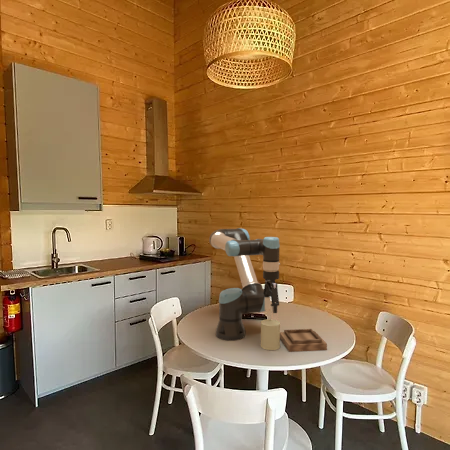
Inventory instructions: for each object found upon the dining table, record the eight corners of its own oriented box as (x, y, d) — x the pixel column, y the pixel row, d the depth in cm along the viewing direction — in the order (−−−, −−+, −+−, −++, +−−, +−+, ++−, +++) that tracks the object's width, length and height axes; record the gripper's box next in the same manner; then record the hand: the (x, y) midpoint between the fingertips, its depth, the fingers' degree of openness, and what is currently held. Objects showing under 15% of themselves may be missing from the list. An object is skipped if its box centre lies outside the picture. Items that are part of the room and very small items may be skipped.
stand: (288, 351, 158) (289, 342, 158) (279, 338, 174) (279, 329, 173) (326, 349, 160) (327, 340, 160) (314, 336, 176) (314, 327, 175)
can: (278, 342, 169) (278, 318, 168) (281, 350, 160) (282, 324, 159) (259, 342, 169) (259, 318, 168) (261, 350, 159) (262, 325, 159)
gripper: (286, 275, 150) (286, 323, 151) (272, 265, 174) (272, 306, 176) (269, 275, 149) (269, 324, 150) (257, 265, 173) (257, 307, 175)
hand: (270, 314), depth 163 cm, fingers open, 13 cm apart
